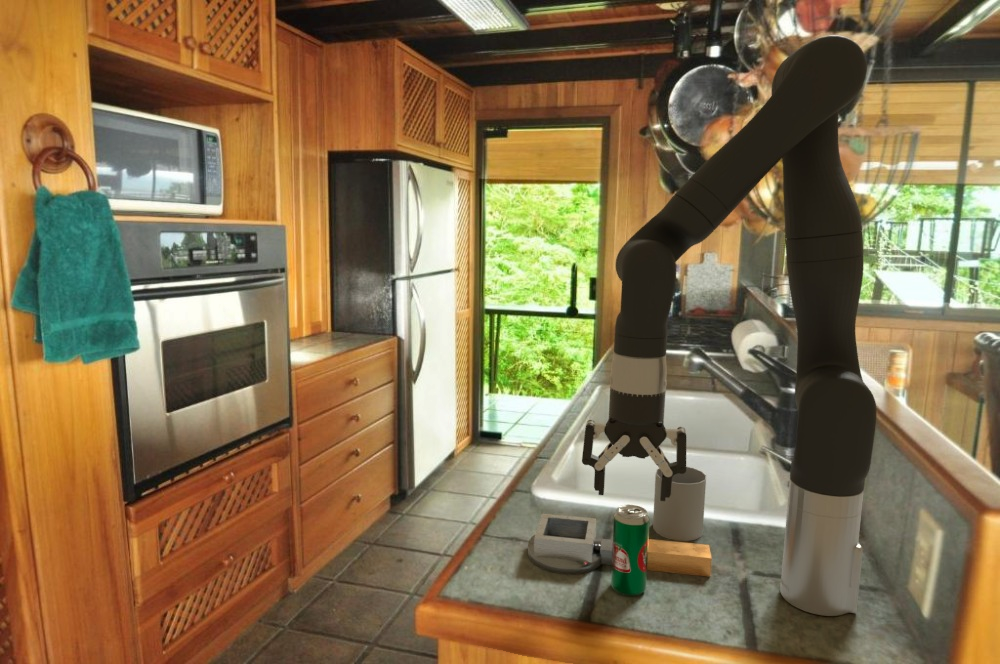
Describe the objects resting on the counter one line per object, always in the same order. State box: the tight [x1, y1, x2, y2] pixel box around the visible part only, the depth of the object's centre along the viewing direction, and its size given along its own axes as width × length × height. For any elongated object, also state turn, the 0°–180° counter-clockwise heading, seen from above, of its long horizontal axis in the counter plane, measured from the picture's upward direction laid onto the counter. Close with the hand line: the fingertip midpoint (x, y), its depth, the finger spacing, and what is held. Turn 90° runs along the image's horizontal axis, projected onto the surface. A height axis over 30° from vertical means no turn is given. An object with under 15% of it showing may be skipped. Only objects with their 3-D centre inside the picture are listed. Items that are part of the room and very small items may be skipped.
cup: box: [652, 466, 707, 542], centre depth 117 cm, size 8×8×10 cm
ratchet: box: [527, 513, 713, 577], centre depth 107 cm, size 28×12×4 cm, turn 78°
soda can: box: [610, 504, 651, 597], centre depth 98 cm, size 5×5×12 cm
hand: (631, 496), depth 97 cm, fingers open, 8 cm apart
